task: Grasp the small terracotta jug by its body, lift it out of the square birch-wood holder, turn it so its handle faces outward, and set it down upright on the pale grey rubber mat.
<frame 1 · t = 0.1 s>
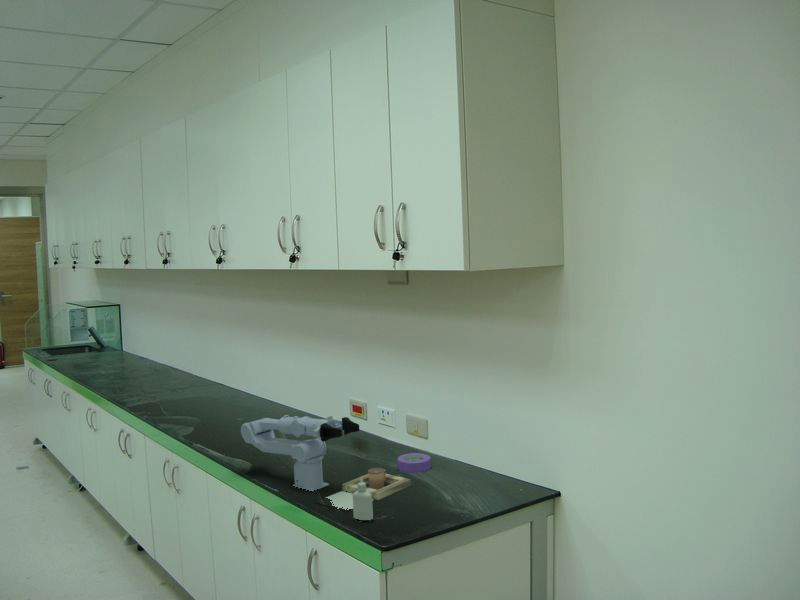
hand: (350, 430, 219), 22 cm above the worktop, tool horizontal, fingers open, 7 cm apart
holder: (376, 487, 229), on the worktop
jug: (377, 478, 230), in the holder
eye dropper bottle: (363, 520, 203), on the worktop
mat: (344, 501, 218), on the worktop
masking tape: (414, 468, 249), on the worktop
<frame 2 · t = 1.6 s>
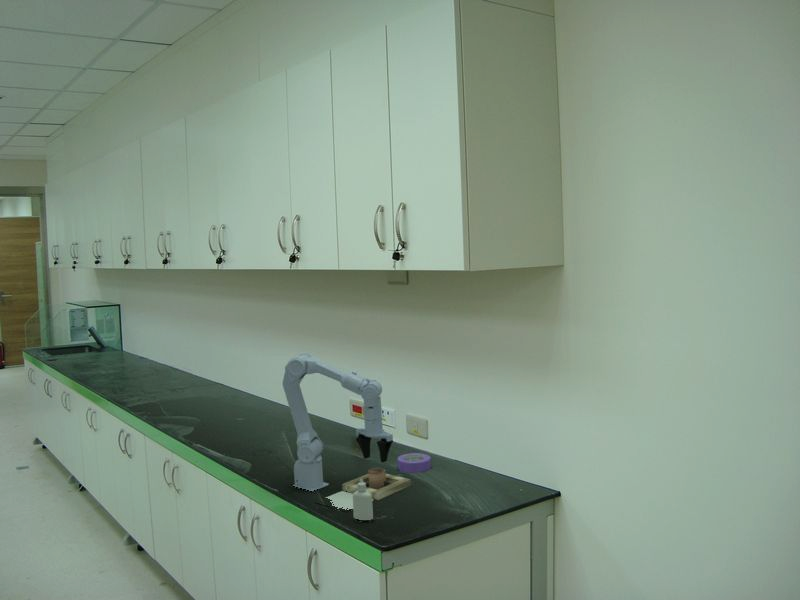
hand: (375, 459, 229), 9 cm above the worktop, tool pointing down, fingers open, 7 cm apart
nothing on the worktop moved.
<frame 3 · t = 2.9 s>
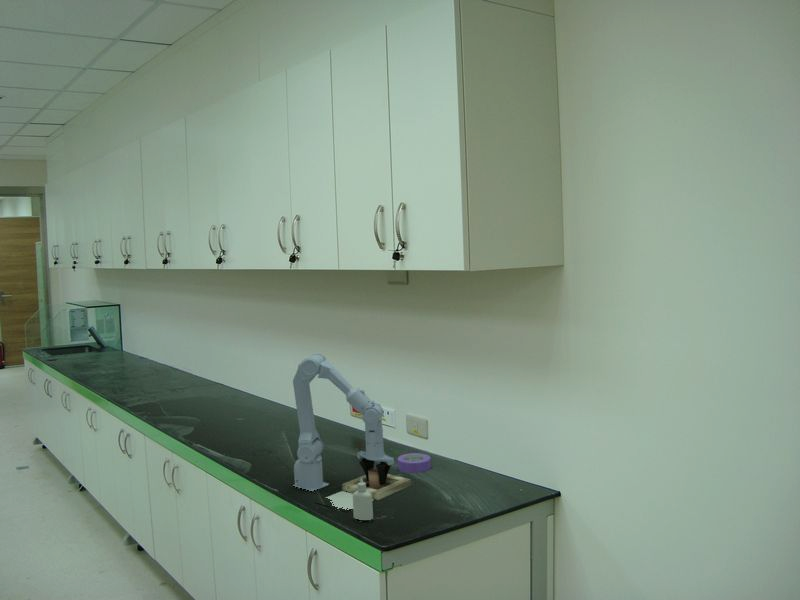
hand: (376, 482, 229), 2 cm above the worktop, tool pointing down, fingers closed on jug, 5 cm apart
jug: (377, 478, 230), in the holder, touching gripper
everything else where it was.
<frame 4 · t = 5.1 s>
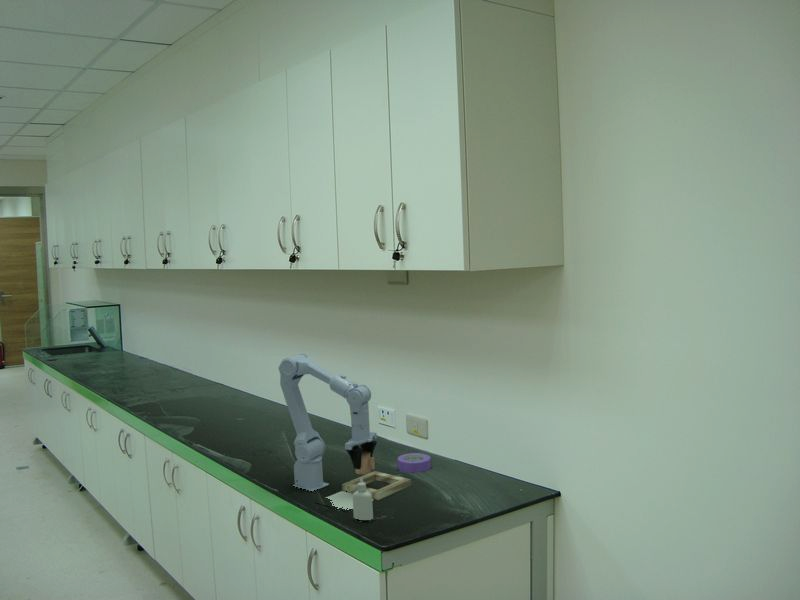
hand: (362, 466, 224), 9 cm above the worktop, tool pointing down, fingers closed on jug, 5 cm apart
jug: (364, 462, 224), point 10 cm above the worktop, touching gripper
everything else where it was.
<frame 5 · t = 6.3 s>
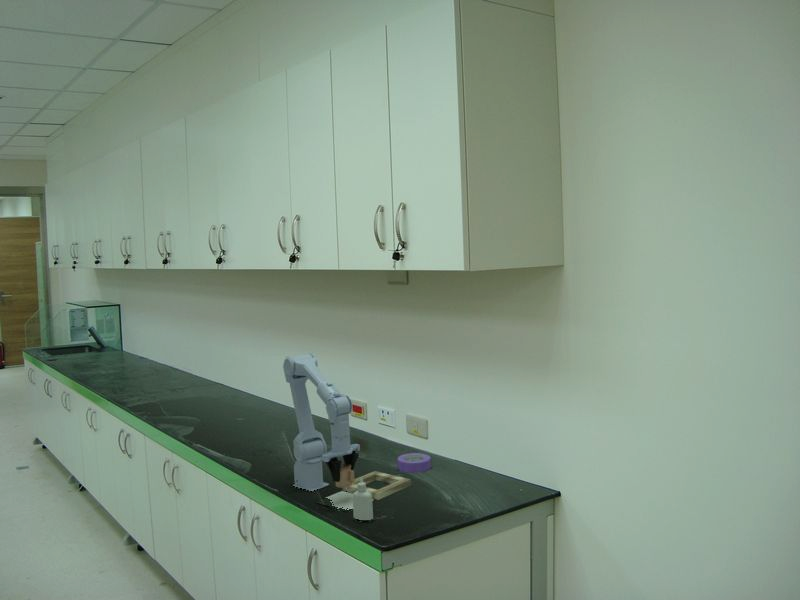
hand: (342, 478, 217), 7 cm above the worktop, tool pointing down, fingers closed on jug, 5 cm apart
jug: (345, 475, 217), point 8 cm above the worktop, touching gripper
everything else where it was.
when the fingers open (3 cm above the worktop, at t = 7.4 s): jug drops 1 cm, resting on mat.
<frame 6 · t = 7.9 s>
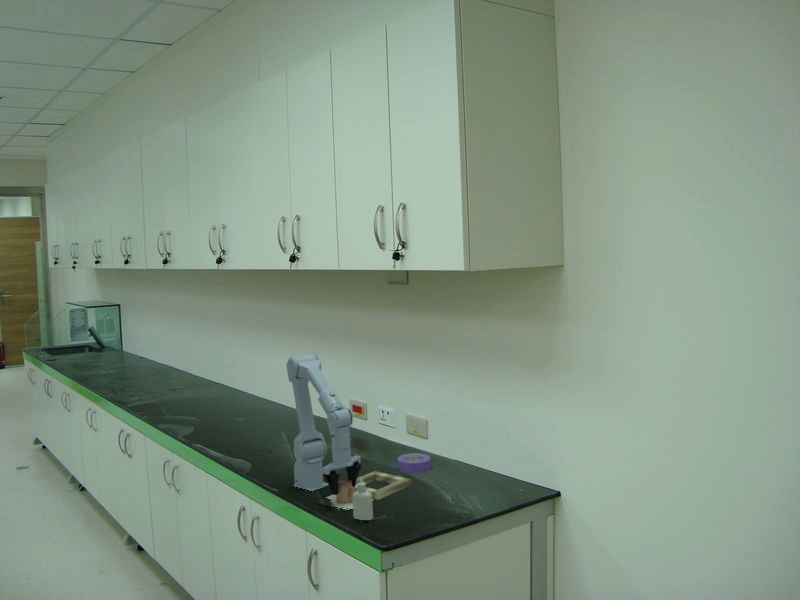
hand: (343, 490, 218), 4 cm above the worktop, tool pointing down, fingers open, 7 cm apart
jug: (345, 491, 217), resting on mat
everything else where it was.
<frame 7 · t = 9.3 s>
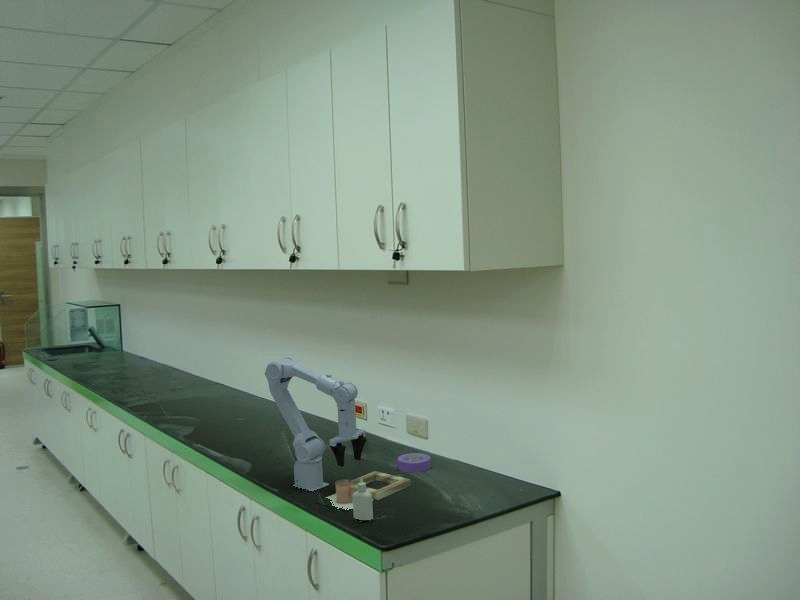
hand: (349, 462, 227), 9 cm above the worktop, tool pointing down, fingers open, 7 cm apart
nothing on the worktop moved.
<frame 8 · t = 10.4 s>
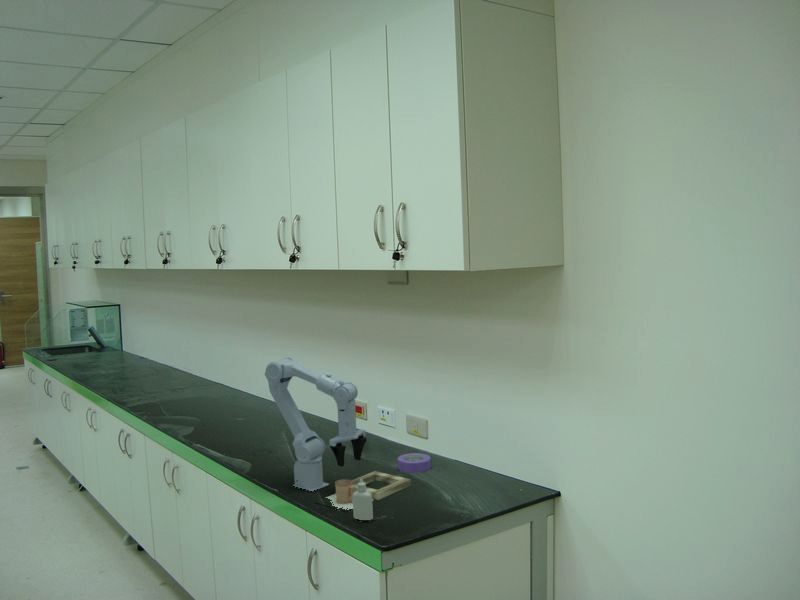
hand: (349, 462, 227), 9 cm above the worktop, tool pointing down, fingers open, 7 cm apart
nothing on the worktop moved.
at the end: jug inside the target area on the mat (0.2 cm from its centre), point 3.3 cm above the mat's base; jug tilted 1°; the gripper is holding nothing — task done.
